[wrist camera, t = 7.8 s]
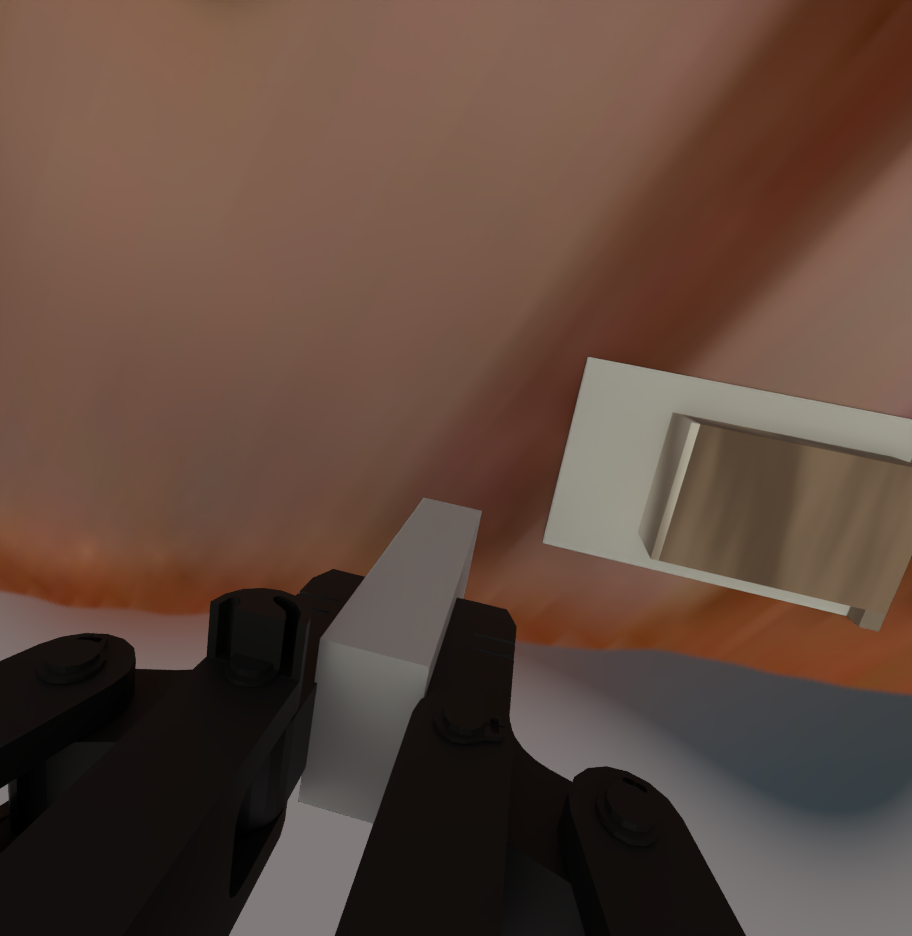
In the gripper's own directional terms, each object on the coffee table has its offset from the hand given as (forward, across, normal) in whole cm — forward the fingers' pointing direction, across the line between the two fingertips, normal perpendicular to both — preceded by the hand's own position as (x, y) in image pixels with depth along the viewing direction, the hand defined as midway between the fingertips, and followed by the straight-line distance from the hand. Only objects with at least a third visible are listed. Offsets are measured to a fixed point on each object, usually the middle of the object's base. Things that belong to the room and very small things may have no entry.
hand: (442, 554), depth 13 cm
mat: (+18, +13, 0) cm, 22 cm away
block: (+16, +9, 0) cm, 18 cm away
